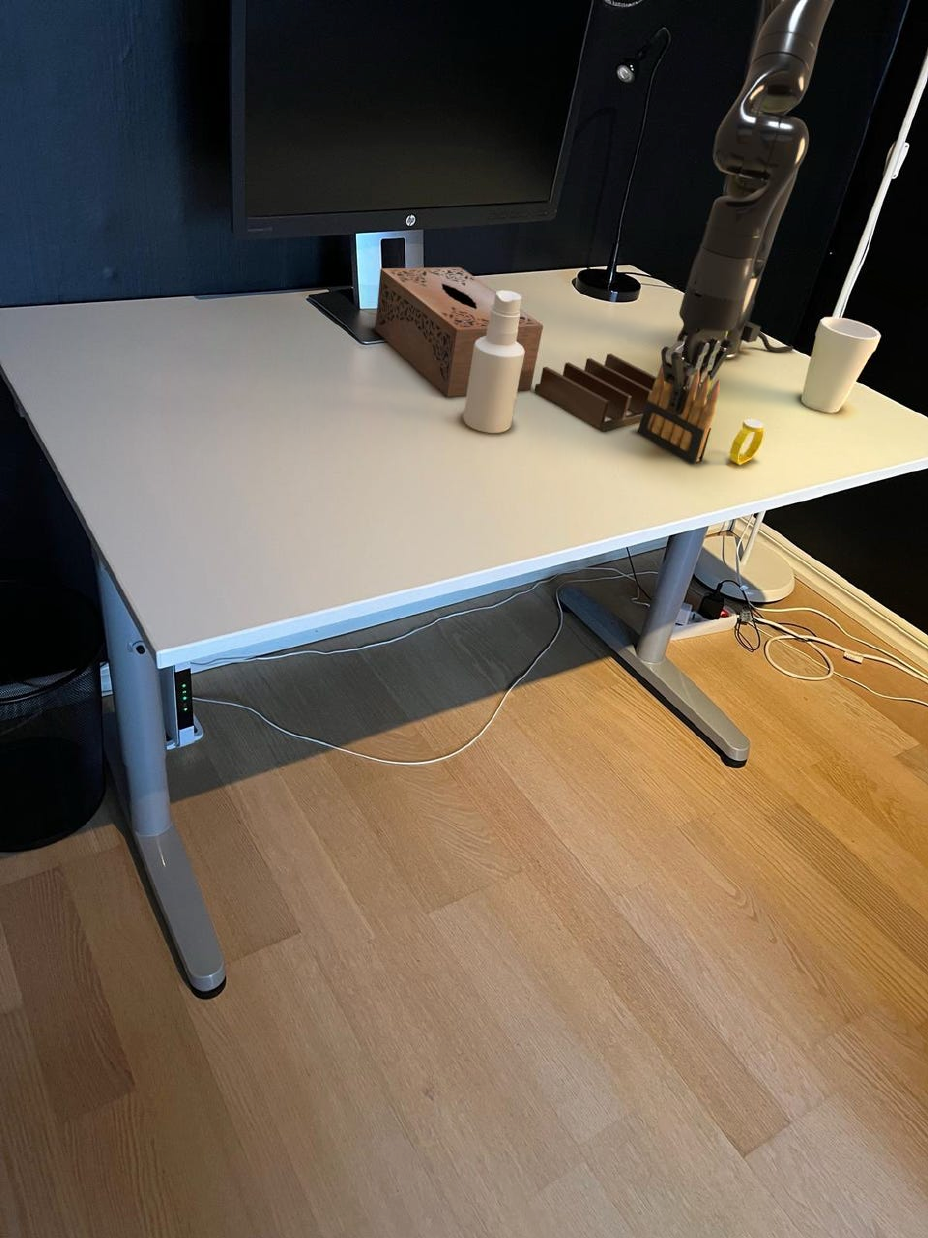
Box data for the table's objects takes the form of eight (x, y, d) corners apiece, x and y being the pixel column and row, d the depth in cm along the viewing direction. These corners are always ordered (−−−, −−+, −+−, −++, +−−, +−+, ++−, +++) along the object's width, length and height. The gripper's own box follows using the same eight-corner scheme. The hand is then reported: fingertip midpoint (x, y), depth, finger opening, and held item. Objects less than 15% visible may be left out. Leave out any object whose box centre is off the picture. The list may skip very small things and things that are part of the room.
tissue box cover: (530, 389, 142) (543, 325, 136) (447, 396, 136) (457, 329, 130) (452, 326, 159) (460, 266, 153) (375, 330, 153) (380, 268, 147)
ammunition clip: (701, 462, 130) (728, 381, 123) (693, 464, 129) (720, 383, 122) (644, 429, 136) (667, 351, 129) (636, 432, 135) (658, 352, 128)
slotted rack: (600, 376, 151) (606, 351, 148) (669, 413, 143) (677, 387, 140) (534, 391, 142) (539, 365, 139) (603, 431, 134) (610, 404, 131)
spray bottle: (516, 420, 133) (540, 294, 122) (502, 438, 127) (526, 308, 116) (471, 407, 134) (491, 281, 123) (455, 425, 128) (475, 295, 118)
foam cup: (802, 387, 160) (831, 312, 152) (855, 406, 156) (887, 330, 149) (784, 401, 153) (813, 324, 146) (838, 421, 150) (871, 343, 142)
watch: (744, 452, 135) (757, 414, 131) (760, 460, 134) (774, 422, 130) (721, 461, 131) (734, 423, 128) (737, 470, 130) (751, 431, 126)
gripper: (725, 271, 125) (688, 392, 136) (661, 281, 117) (627, 408, 128) (771, 290, 121) (729, 413, 131) (708, 301, 113) (668, 431, 123)
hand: (679, 410), depth 129 cm, fingers closed on ammunition clip
